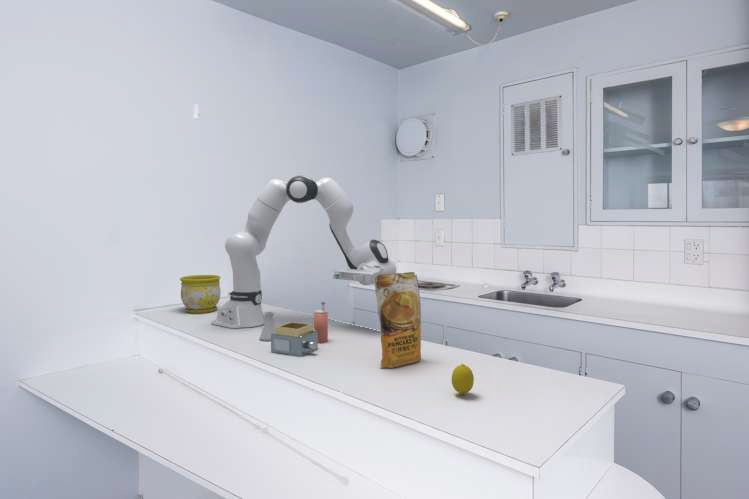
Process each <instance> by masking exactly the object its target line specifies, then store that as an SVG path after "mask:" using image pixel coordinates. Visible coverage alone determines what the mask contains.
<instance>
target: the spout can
mask: <svg viewBox="0 0 749 499" xmlns="http://www.w3.org/2000/svg"><path fill="white" fill-rule="evenodd" d="M320 304H321V309H315V310H314V312H313V330H316V331H317V332H318V344H325V343H328V341H329V336H328V335H329V334H328V333H329V327H328V326H329V322H328V321H329V320H328V319H329V312H328V311H327V309H325V306H326V302H325V301H321V302H320Z"/></svg>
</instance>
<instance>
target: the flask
mask: <svg viewBox="0 0 749 499" xmlns="http://www.w3.org/2000/svg"><path fill="white" fill-rule="evenodd" d="M264 315H265V318H264V321H265V323H264V324H263V328H262V330H261V334H260V336H259V339H258V340H259V341H264V342H266V341H267V342H268V341H269V342H271V334H273V332H276V330H275V327H276V325H275V322H274V321H275V320H274V316H273V315H274V311H265V312H264Z"/></svg>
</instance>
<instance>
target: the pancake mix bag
mask: <svg viewBox="0 0 749 499" xmlns="http://www.w3.org/2000/svg"><path fill="white" fill-rule="evenodd" d="M417 276H418V275H417V274H415V272H413V271H411V272H396V273H391V274H382V275H378V276H377V277H376V278H375V284H374V287H375V288H374V289H375V296H376V303H377V304H376V305H377V314H378V320H379V325H380V343H381V352H382V353H381V354H382V355H381V356H382V357H381V361H380V367H379V368H380V369H396V368H400V367H404V366H405V367H406V366H408V365H412V364H417V363H419V362H420V360H421V359H422V353H421V350H422V348H421V347H422V311H421V305H422V304H421V295H420V288H419V282H418V277H417Z"/></svg>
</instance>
